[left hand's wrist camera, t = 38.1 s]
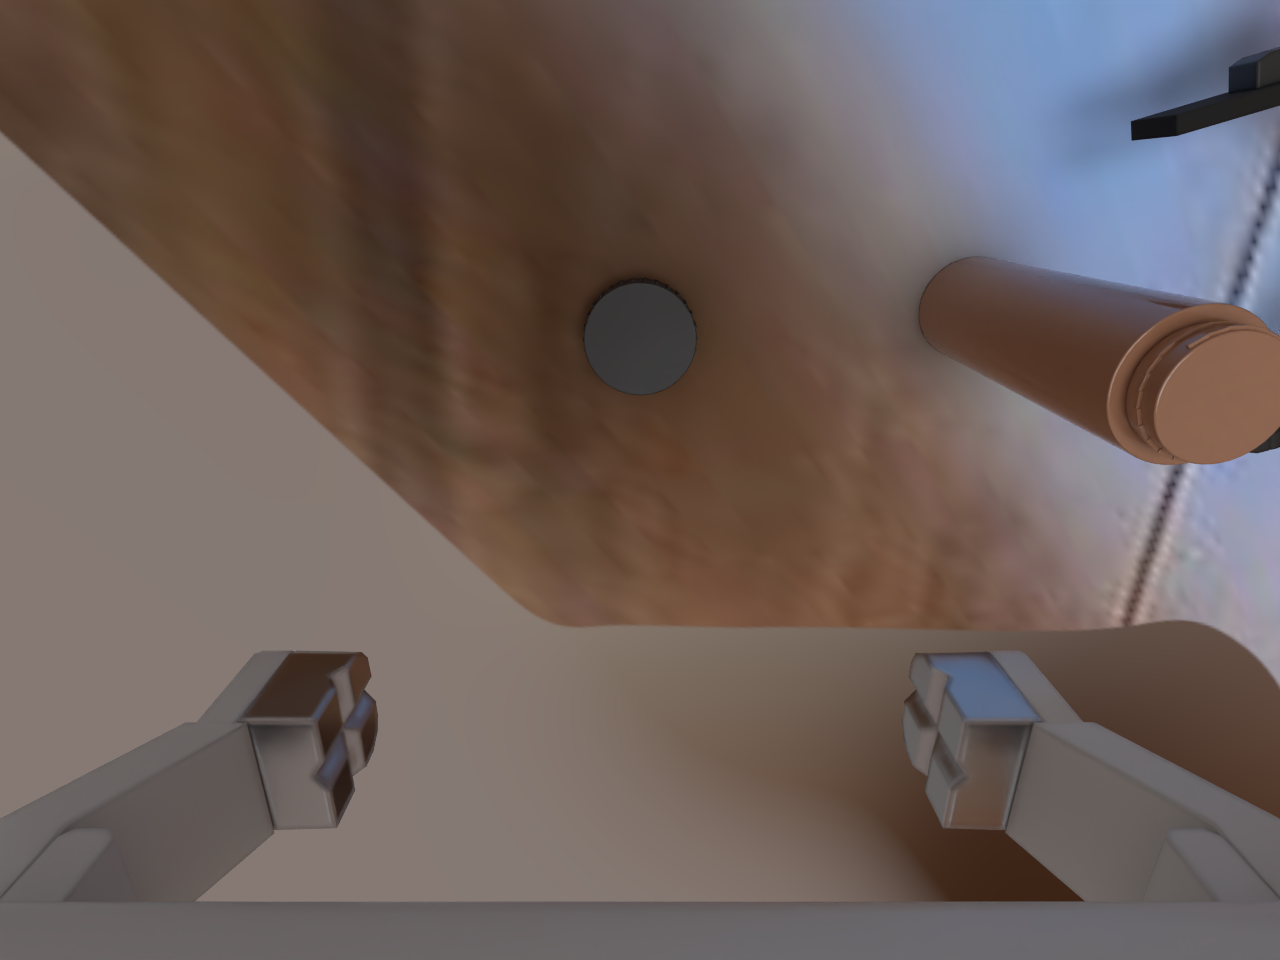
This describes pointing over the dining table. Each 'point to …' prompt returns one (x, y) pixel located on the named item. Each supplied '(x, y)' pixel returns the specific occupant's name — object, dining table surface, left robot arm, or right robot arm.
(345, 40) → the dining table surface
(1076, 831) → the left robot arm
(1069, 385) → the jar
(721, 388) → the dining table surface
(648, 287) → the lid
